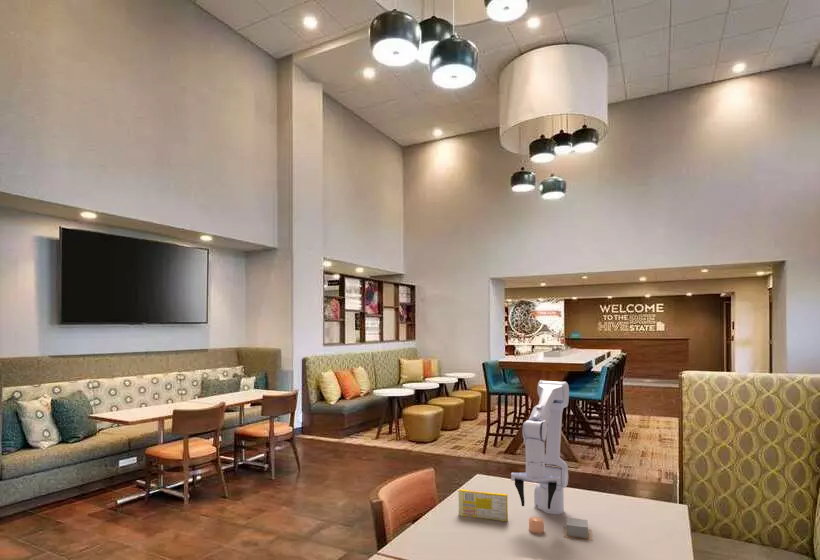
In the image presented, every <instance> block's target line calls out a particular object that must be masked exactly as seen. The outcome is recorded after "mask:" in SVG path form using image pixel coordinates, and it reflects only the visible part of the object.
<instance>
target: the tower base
mask: <svg viewBox="0 0 820 560" xmlns="http://www.w3.org/2000/svg"><path fill="white" fill-rule="evenodd" d="M563 538H566V539H567V538H568V539H577V540H584V541H585V540H586V541H594V539H593V533H592V529H591V528H588V538H582V537H575V536H567V526H564V525H563Z"/></svg>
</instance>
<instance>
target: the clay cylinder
mask: <svg viewBox="0 0 820 560" xmlns="http://www.w3.org/2000/svg"><path fill="white" fill-rule="evenodd" d="M528 530H529V532H531V533H533V534H543V533H544V532H545V521H544V519H543V518H542V517H539V516H530V517H529V518H528Z"/></svg>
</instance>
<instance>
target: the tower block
mask: <svg viewBox="0 0 820 560" xmlns="http://www.w3.org/2000/svg"><path fill="white" fill-rule="evenodd" d="M588 524H589V523H588V519H583V518H573V517H566V527H567V536H575V537H582V538H588V529H589V525H588Z"/></svg>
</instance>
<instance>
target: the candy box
mask: <svg viewBox="0 0 820 560" xmlns="http://www.w3.org/2000/svg"><path fill="white" fill-rule="evenodd" d="M460 515H461V516H462V517H467V516H469V517H468V518H475V517H479V518H478V519H483V518H486V519H485V520H490V519H495V520H494V521H498V520H501V521H500V522H506V521H507V522H508V520H509V517H508V516H509V515H508V494H507V493H500V492H493V491H492V492H490V491H489V492H488V491H482V490H481V491H480V490H471V489H462V488H460V489H458V516H460Z"/></svg>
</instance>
